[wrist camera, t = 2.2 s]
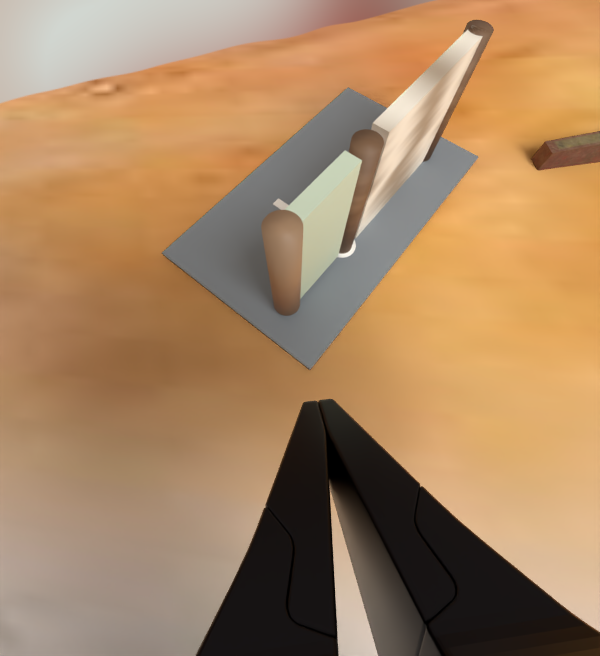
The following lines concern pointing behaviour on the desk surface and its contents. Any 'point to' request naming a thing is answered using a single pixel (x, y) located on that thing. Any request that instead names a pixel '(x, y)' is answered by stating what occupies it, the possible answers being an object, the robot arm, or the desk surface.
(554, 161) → the miniature gate
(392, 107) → the fence section
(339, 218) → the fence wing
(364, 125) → the card
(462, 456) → the desk surface
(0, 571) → the desk surface
